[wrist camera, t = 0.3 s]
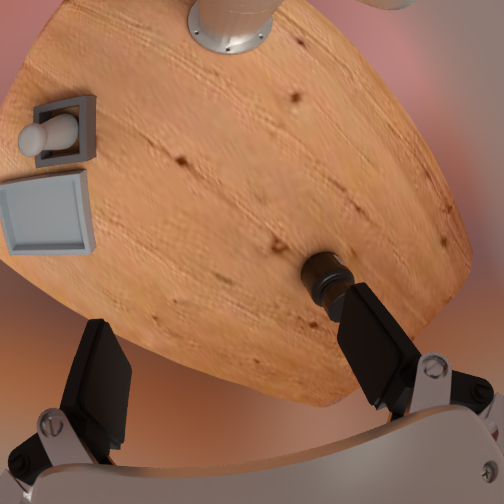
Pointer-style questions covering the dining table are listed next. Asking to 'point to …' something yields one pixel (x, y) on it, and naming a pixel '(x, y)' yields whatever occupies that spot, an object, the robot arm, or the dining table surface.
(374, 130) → the dining table surface
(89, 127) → the holder
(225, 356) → the dining table surface
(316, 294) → the ink bottle
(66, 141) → the salt shaker
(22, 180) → the tray
